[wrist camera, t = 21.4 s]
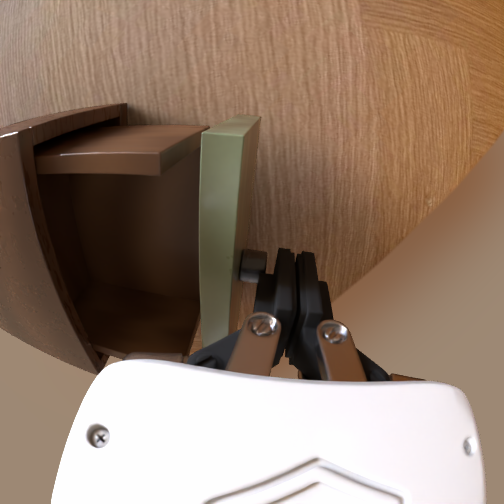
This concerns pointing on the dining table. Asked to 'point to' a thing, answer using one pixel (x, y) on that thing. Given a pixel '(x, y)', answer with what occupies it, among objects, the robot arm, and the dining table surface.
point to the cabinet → (40, 242)
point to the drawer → (153, 229)
